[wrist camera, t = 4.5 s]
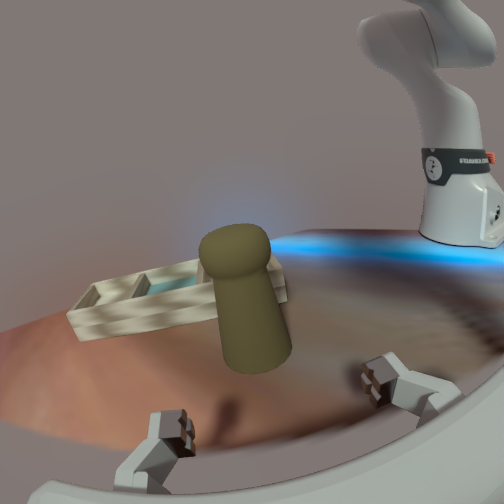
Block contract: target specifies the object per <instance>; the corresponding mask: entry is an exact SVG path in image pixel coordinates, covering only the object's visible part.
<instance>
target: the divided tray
mask: <svg viewBox="0 0 504 504" xmlns="http://www.w3.org/2000/svg"><path fill="white" fill-rule="evenodd" d="M266 267H267V270H268V273H269V276H270V279H271V282H272V285H273V288H274V291H275V294H276V297H277V300H278V303H282V302H286V301H287V295H286V288H285V282H284V275H283V269H282V267H281V265H280V264H279V262H278V261H277V259H276V258H275V256H274V255H273V253H272V252H271V258H270V260H269V262H268V264H267V266H266ZM66 315H67V317H68V319H69V321H70V323H71V325H72V327H73V329H74V331H75V333H76V335H77V337H78V339H79V341H88V340H95V339H102V338H109V337H116V336H122V335H129V334H135V333H141V332H147V331H152V330H158V329H163V328H169V327H174V326H179V325H185V324H190V323H195V322H200V321H204V320H209V319H214V318H218V316H217V308H216V301H215V293H214V286H213V279H212V278H211V277H210V276H208V275H207V274H206V272H205V270H204V268H203V267H202V265H201V262H200V259H195V260H191V261H186V262H182V263H178V264H174V265H169V266H165V267H161V268H156V269H152V270H148V271H143V272H139V273H135V274H130V275H127V276H122V277H117V278H113V279H109V280H105V281H100V282H96V283H92V284H91V285H90V286H89V288H88V289H87V290H86V291H85V292H84V293H83V295H82V296H81V297H80V298H79V299H78V301H77V302H76V303H75V304H74V305H73V307H72V308H71V309H70V310H69V311H68V313H67V314H66Z"/></svg>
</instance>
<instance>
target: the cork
mask: <svg viewBox="0 0 504 504" xmlns="http://www.w3.org/2000/svg"><path fill="white" fill-rule="evenodd" d="M270 258H271V247H270V242H269V239H268V237H267V234H266V232H265V231H264V230H263V229H262V228H261V227H259V226H257V225H254V224H233V225H228V226H225V227H221V228H219V229H216V230H214V231H212V232H210V233H208V234H207V235H206V236H205V237H204V238H203V239H202V240H201V243H200V247H199V259H200V262H201V265H202V267H203V268H204V270H205V272H206V274H207V275H208V276H210V277H211V278H212V279H213V286H214V293H215V301H216V308H217V316H218V323H219V330H220V336H221V343H222V349H223V356H224V360H225V362H226V364H227V365H228V366H229V367H230V368H231V369H233V370H235V371H237V372H240V373H246V374H257V373H263V372H267V371H270V370H272V369H274V368H277V367H278V366H279V365H281V364H282V363H284V362H285V361H286V359H287V358H288V357H289V355H290V354H291V350H292V344H291V340H290V337H289V334H288V331H287V328H286V325H285V322H284V319H283V316H282V313H281V310H280V307H279V304H278V300H277V297H276V294H275V291H274V288H273V285H272V282H271V279H270V276H269V273H268V270H267V267H266V266H267V264H268V262H269V260H270Z"/></svg>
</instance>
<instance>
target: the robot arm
mask: <svg viewBox="0 0 504 504" xmlns="http://www.w3.org/2000/svg"><path fill="white" fill-rule="evenodd" d="M404 1H407V2H410V3H413V4H416V5H418V6H420V7H422V9H419V10H406V11H394V12H385V13H381V14H378V15H375V16H372V17H369V18H367V19H364V20H362V21H361V22H360V24H359V26H358V30H357V41H358V45H359V47H360V49H361V51H362V53H363V54H364V56H365V57H366V58H367V59H368V60H369V61H370V62H371V63H372V64H374V65H375V66H377V67H378V68H380V69H382V70H384V71H386V72H388V73H389V74H391V75H392V76H393V77H395V78H396V79H397V80H398V81H399V82H400V83H401V84H402V85H403V86H404V88H405V89H406V90H407V92H408V94H409V95H410V97H411V99H412V101H413V103H414V106H415V109H416V112H417V116H418V120H419V124H420V129H421V135H422V141H423V147H424V148H422V150H421V151H422V162H423V169H424V172H425V178H426V179H425V189H424V205H423V213H422V216H421V224H420V227H419V231H420V232H421V233H422V234H423V235H424V236H426V237H428V238H430V239H432V240H435V241H438V242H442V243H447V244H452V245H462V246H482V247H488V248H496V247H497V246H498V245H499V244H501V243H502V242H503V241H504V192H503V191H502V189H501V188H500V187H499V186H498V184H497V182H496V181H495V180H494V178H493V177H492V176H491V174H490V173H489V171H490V167H489V163H490V164H495V163H494V162H495V161H496V160H494V159H496V158H494V157H495V156H494V153H488V152H485V150H483V144H482V136H481V128H480V121H479V116H478V110H477V107H476V104H475V103H474V101H473V100H472V98H471V97H470V96H469V95H468V94H466V93H465V92H463V91H462V90H460V89H458V88H456V87H454V86H452V85H450V84H448V83H446V82H445V81H443V80H442V79H441V78H440V77H439V76H438V75H437V73H436V72H435V70H434V69H437V68H466V69H472V68H479V67H485V66H491V65H492V63H494V61H495V59H496V55H497V44H496V40H495V37H494V35H493V33H492V31H491V30H490V28H489V26H488V25H487V24H486V23H485V22H484V21H483V20H482V19H481V18H480V17H479V16H478V15H476V14H475V13H473V12H472V11H470V10H469V9H468V8H467V7H466V6H465V5H464V4H463V3H462V2H461V1H460V0H404ZM362 371H363V374H362V375H361V384H362V387H363V390H364V391H365V393H366V394H369V395H370V401H371V402H372V404H373V405H374V407H375V408H376V409H377V408H379V407H382V406H384V405H386V404H389V403H391V402H392V404H394V405H396V406H398V407H401V408H403V409H405V410H407V411H409V412H411V413H413V414H415V415H417V416H419V417H420V419H419V422H418V424H417V427H416V428H417V429H416V430H414V431H412V432H410V433H408V434H407V435H404V436H403V437H401V438H399V439H397V440H395V441H393V442H391V443H389V444H387V445H385V446H383V447H381V448H378V449H376V450H374V451H372V452H369V453H367V454H365V455H362V456H360V457H358V458H355V459H353V460H350V461H347V462H345V463H342V464H339V465H336V466H334V467H331V468H328V469H325V470H322V471H318V472H315V473H312V474H309V475H305V476H301V477H298V478H294V479H290V480H286V481H282V482H278V483H273V484H268V485H263V486H258V487H252V488H246V489H239V490H232V491H223V492H214V493H201V494H174V495H173V494H171V493H170V492H169V491H168V490H167V489H166V488H164V487H163V486H162V484H163V482H164V481H165V479H166V477H167V476H168V474H169V473H170V471H171V470H172V468H173V467H174V465H175V464H176V462H177V460H178V458H184V457H193V456H196V453H195V444H194V442H193V440H194V438H195V429H194V425H193V423H192V421H191V419H189V418H187V413H186V411H185V410H184V409H181V410H170V411H158V412H152V414H151V417H150V423H149V430H148V437H147V439H144V440H143V442H142V443H141V444H140V445H139V446H138V447H137V448H136V449H135V450H134V451H133V452H132V454H131V455H130V456H129V457H128V458H127V459H126V460H125V461H124V462H123V463H122V464H121V465H120V467H119V468H118V469H117V470H116V476H115V483H114V489H113V491H110V490H103V489H97V488H91V487H86V486H81V485H76V484H72V483H68V482H63V481H60V480H55V479H52V480H49V481H48V482H46V483H45V484H43V485H42V486H41V487H39V488H38V489H37V490H35V491H34V492H33V493H32V495H31V496H30V498H29V500H28V503H27V504H504V365H503V366H502V367H501V368H500V369H499V370H498V371H497V372H496V373H494V374H493V375H492V376H491V377H490V378H489V379H487V380H486V381H485V382H484V383H483V384H482V385H480V386H479V387H478V388H476V389H475V390H474V391H473V392H471V393H470V394H469V395H467V396H466V397H465V396H464V395H463V394H462V393H461V392H460V390H459V389H458V388H457V387H456V386H455V385H454V384H453V383H452V382H450V381H447V380H443V379H440V378H436V377H433V376H429V375H426V374H422V373H419V372H416V371H413V370H412V371H409V370H408V369H407V368H406V367H405V366H404V365H403V363H402V362H401V361H400V360H399V359H398V358H397V357H396V356H395V354H394V353H393V352H389V353H387V354H384V355H382V356H379V357H377V358H375V359H372V360H370V361H367V362H365V363H363V364H362Z"/></svg>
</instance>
